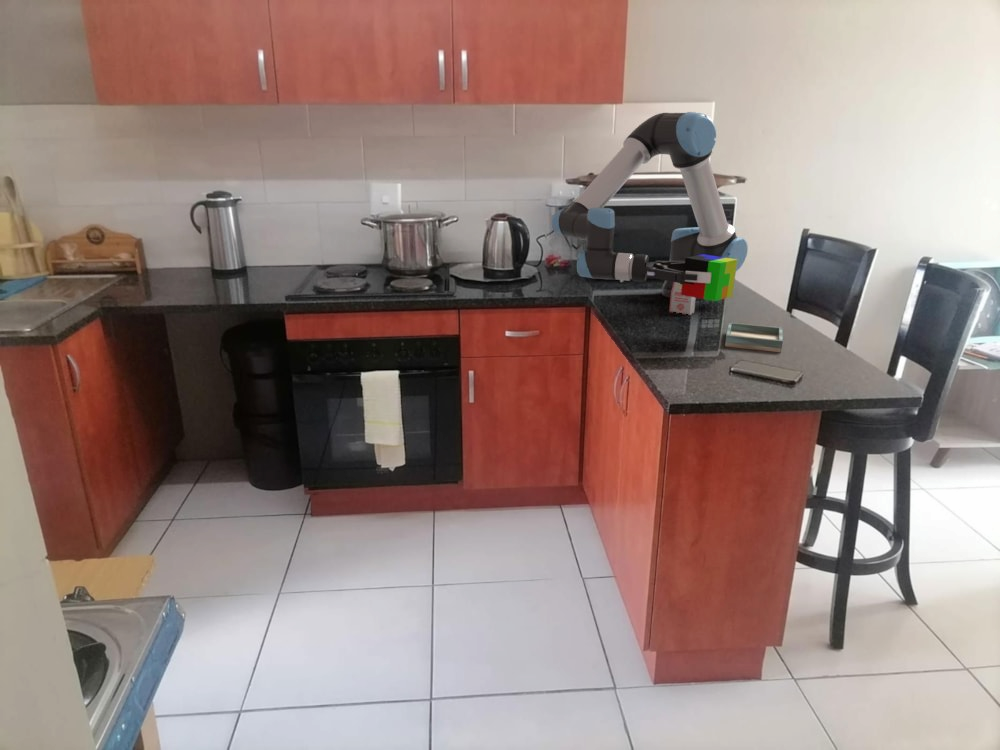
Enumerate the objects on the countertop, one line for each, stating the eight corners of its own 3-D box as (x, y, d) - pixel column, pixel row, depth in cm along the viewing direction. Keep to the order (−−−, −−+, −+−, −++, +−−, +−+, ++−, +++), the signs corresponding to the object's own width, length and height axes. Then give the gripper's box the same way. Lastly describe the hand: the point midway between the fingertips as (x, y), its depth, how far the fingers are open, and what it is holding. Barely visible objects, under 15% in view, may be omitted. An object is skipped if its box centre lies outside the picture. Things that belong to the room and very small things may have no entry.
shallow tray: (727, 332, 199) (729, 322, 198) (780, 337, 195) (782, 327, 194) (724, 346, 187) (726, 335, 186) (781, 352, 182) (782, 341, 181)
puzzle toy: (698, 290, 198) (703, 254, 194) (732, 296, 191) (737, 259, 188) (680, 294, 190) (685, 257, 187) (715, 301, 184) (720, 263, 181)
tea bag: (673, 309, 224) (676, 278, 221) (694, 312, 221) (697, 281, 217) (669, 311, 222) (671, 280, 218) (689, 315, 218) (692, 283, 214)
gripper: (639, 272, 208) (714, 278, 201) (623, 289, 186) (707, 296, 179) (641, 247, 205) (717, 252, 199) (625, 261, 184) (710, 267, 177)
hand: (713, 273), depth 189 cm, fingers closed on puzzle toy, 12 cm apart
